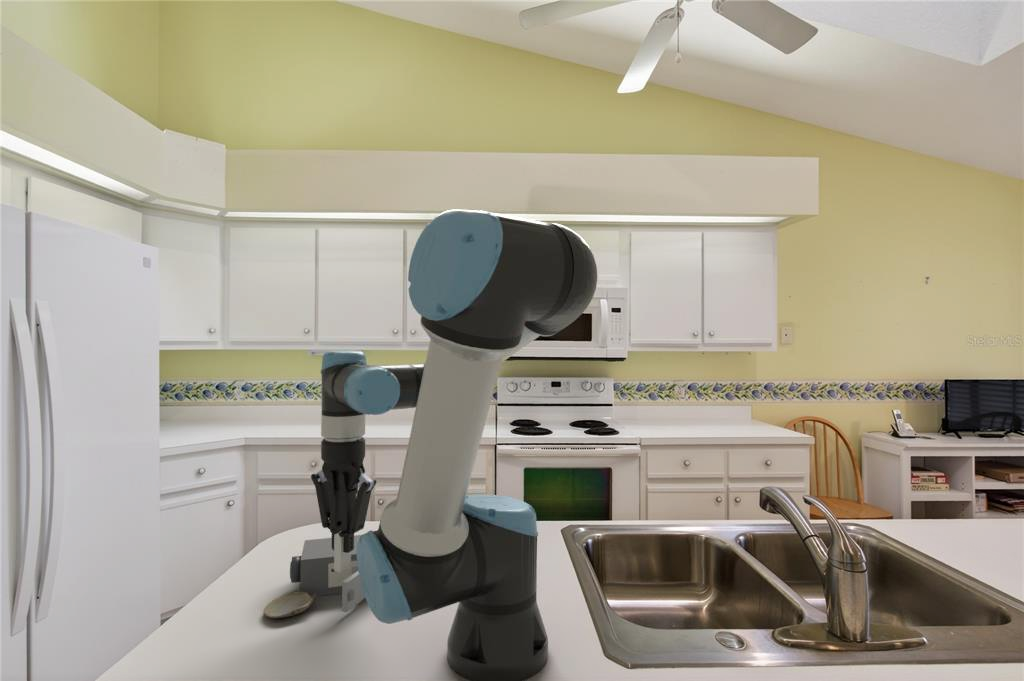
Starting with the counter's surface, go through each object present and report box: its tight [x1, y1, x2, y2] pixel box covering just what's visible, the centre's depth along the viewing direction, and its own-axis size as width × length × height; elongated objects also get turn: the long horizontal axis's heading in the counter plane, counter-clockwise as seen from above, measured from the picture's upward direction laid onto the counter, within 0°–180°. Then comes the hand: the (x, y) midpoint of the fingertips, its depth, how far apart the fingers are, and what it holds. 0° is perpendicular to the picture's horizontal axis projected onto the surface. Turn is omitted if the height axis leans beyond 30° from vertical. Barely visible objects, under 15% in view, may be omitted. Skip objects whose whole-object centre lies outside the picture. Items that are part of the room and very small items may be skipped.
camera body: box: [289, 534, 362, 598], centre depth 106 cm, size 10×18×8 cm, turn 106°
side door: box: [341, 571, 366, 613], centre depth 98 cm, size 2×10×5 cm, turn 162°
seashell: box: [263, 590, 316, 619], centre depth 95 cm, size 8×3×8 cm
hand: (342, 568), depth 98 cm, fingers closed
